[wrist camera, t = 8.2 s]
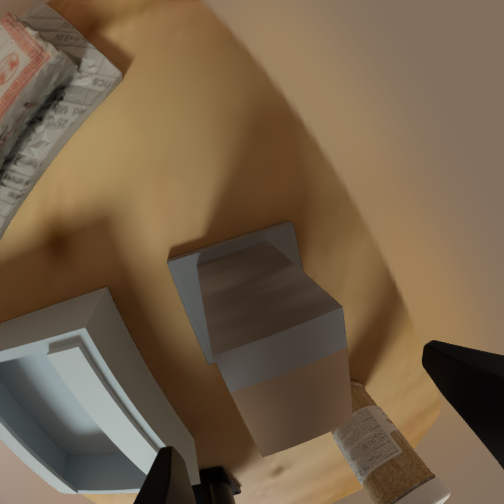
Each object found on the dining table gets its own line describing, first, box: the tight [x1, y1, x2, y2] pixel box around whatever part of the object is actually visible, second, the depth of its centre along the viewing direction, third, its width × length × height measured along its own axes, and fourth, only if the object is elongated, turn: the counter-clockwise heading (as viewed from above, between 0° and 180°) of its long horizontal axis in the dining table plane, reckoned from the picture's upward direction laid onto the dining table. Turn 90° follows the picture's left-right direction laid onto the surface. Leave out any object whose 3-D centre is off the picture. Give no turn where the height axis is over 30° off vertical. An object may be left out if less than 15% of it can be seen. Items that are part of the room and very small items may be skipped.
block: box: [197, 241, 352, 457], centre depth 13 cm, size 4×6×8 cm, turn 15°
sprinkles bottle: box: [331, 381, 451, 504], centre depth 16 cm, size 5×5×13 cm
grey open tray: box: [0, 287, 201, 494], centre depth 14 cm, size 14×13×5 cm
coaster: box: [167, 221, 303, 364], centre depth 17 cm, size 7×7×1 cm
